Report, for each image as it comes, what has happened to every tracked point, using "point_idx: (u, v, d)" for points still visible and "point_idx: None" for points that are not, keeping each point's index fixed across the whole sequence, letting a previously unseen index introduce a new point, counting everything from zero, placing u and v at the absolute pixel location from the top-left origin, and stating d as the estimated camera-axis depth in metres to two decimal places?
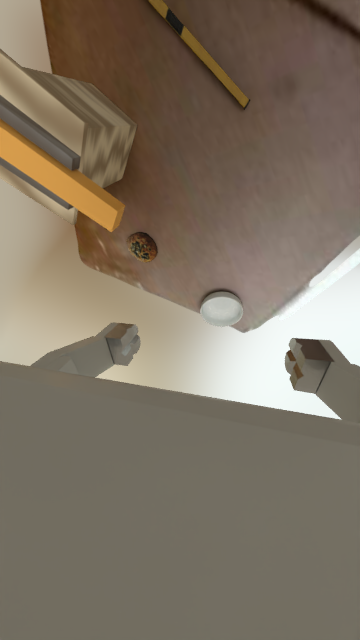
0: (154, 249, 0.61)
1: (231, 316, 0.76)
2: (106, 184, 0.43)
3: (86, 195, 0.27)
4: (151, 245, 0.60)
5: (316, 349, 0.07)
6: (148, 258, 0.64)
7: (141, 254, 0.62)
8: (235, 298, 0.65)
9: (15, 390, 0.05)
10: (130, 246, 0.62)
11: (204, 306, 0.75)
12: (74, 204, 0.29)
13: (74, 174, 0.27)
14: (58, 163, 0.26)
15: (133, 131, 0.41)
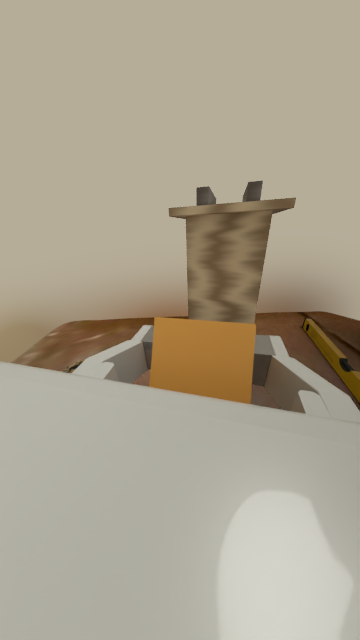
0: None
1: None
2: (191, 310, 0.34)
3: None
4: None
5: (263, 344, 0.08)
6: None
7: None
8: None
9: (15, 390, 0.05)
10: None
11: None
12: None
13: None
14: None
15: None
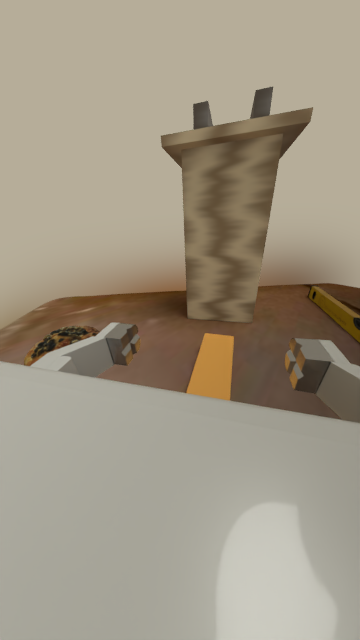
0: None
1: None
2: (189, 270, 0.30)
3: None
4: None
5: (316, 349, 0.07)
6: (36, 354, 0.23)
7: (53, 337, 0.25)
8: None
9: (15, 390, 0.05)
10: (76, 326, 0.29)
11: None
12: None
13: None
14: None
15: (246, 313, 0.32)
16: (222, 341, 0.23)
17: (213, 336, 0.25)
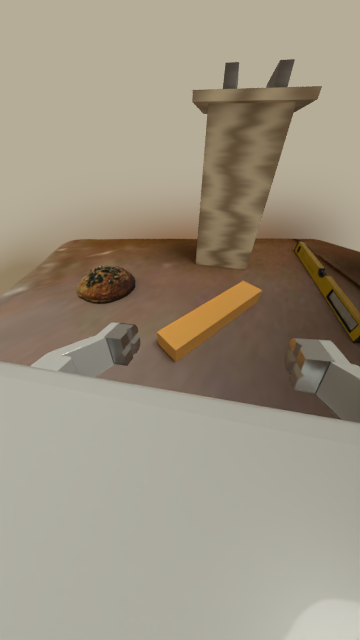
0: (111, 292, 0.31)
1: None
2: (201, 222, 0.37)
3: (198, 327, 0.25)
4: (119, 286, 0.32)
5: (316, 349, 0.07)
6: (89, 285, 0.32)
7: (98, 273, 0.33)
8: None
9: (15, 390, 0.05)
10: None
11: None
12: (194, 312, 0.27)
13: (215, 327, 0.26)
14: (225, 320, 0.27)
15: (243, 262, 0.40)
16: (250, 290, 0.31)
17: (246, 285, 0.32)
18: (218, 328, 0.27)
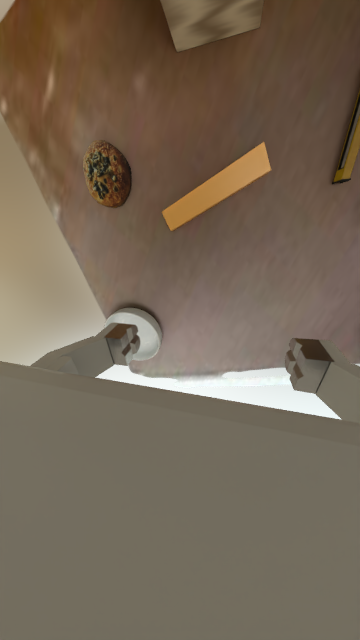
0: (121, 197, 0.37)
1: None
2: None
3: (189, 213, 0.35)
4: (122, 187, 0.36)
5: (316, 349, 0.07)
6: (102, 197, 0.38)
7: (98, 180, 0.35)
8: (160, 336, 0.49)
9: (15, 390, 0.05)
10: (92, 152, 0.34)
11: (118, 315, 0.52)
12: (191, 195, 0.34)
13: (204, 211, 0.35)
14: (214, 204, 0.34)
15: (252, 18, 0.23)
16: (258, 166, 0.30)
17: (261, 153, 0.29)
18: (209, 208, 0.36)
